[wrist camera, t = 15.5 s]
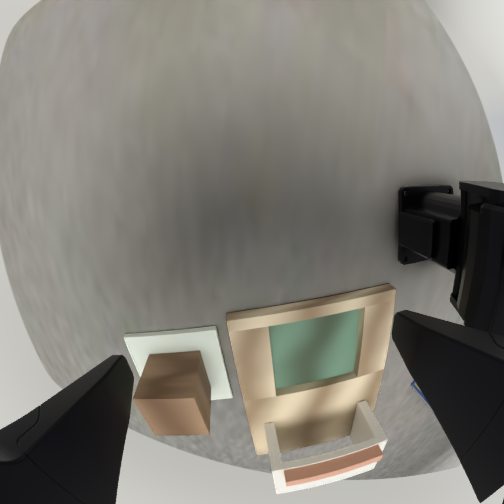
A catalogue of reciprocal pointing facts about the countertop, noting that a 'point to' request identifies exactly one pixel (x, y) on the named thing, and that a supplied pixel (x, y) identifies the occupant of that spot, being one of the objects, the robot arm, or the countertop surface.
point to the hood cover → (330, 456)
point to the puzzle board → (311, 364)
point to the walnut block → (175, 394)
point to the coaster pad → (181, 342)
